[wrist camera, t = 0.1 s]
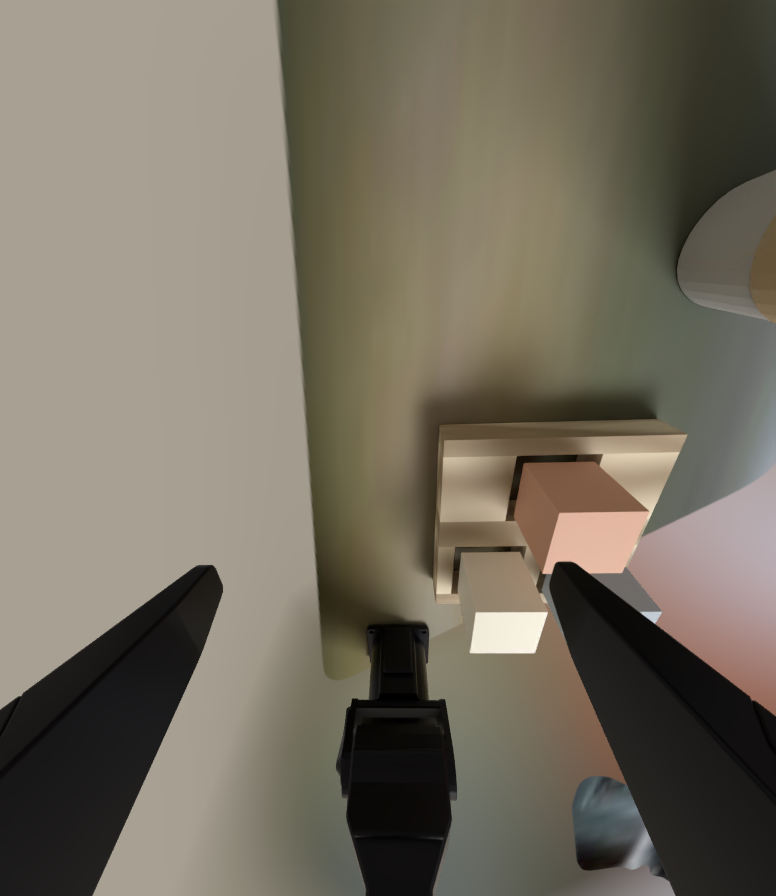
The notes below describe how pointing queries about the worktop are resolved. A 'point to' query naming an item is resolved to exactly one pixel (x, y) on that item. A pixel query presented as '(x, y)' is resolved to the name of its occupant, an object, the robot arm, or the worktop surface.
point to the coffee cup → (735, 252)
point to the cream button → (499, 603)
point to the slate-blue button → (622, 587)
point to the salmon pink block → (577, 516)
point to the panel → (492, 468)
